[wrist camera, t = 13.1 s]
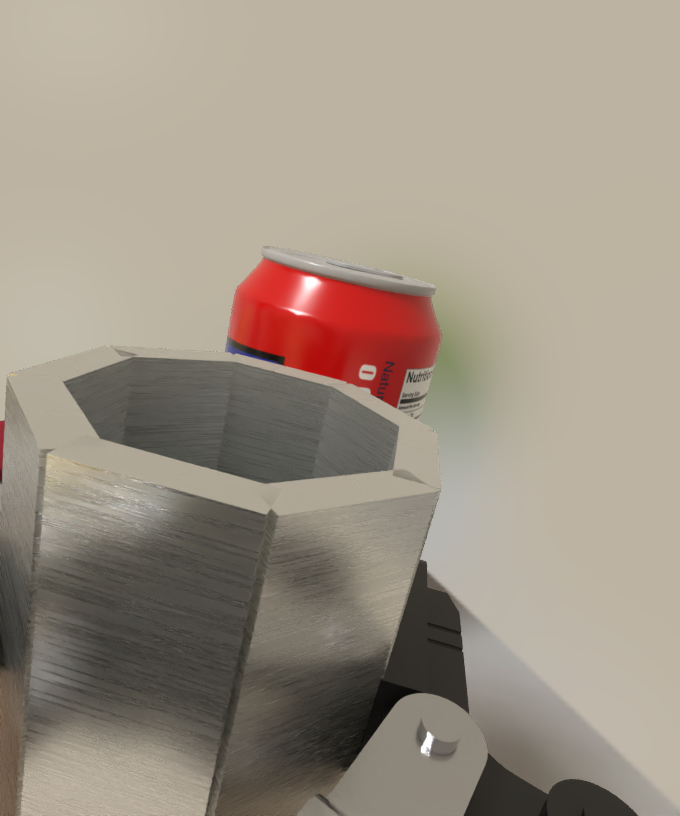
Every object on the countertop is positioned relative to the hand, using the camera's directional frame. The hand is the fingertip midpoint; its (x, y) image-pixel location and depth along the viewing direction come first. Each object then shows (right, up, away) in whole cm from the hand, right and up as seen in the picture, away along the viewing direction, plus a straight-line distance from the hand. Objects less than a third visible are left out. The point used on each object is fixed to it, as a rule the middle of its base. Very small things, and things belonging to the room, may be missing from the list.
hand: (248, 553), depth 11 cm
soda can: (-1, -6, +13) cm, 15 cm away
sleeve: (-2, -6, -1) cm, 7 cm away
